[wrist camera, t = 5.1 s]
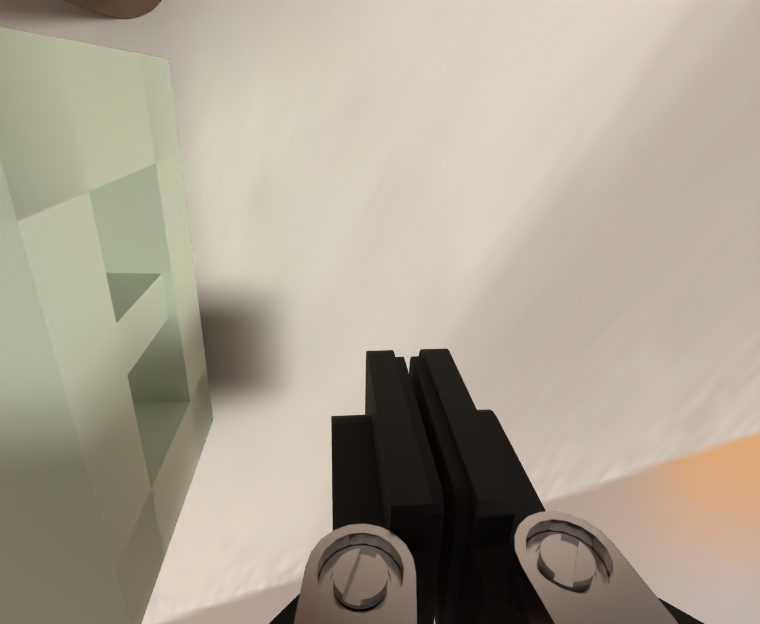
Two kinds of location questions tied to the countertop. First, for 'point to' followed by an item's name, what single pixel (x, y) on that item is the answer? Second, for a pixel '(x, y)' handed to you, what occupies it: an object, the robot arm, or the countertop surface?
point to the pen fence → (118, 7)
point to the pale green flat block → (92, 331)
